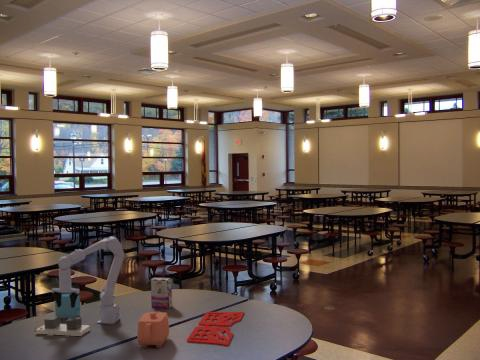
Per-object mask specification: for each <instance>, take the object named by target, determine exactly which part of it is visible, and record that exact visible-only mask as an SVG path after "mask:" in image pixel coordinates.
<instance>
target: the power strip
mask: <svg viewBox="0 0 480 360" xmlns="http://www.w3.org/2000/svg"><path fill="white" fill-rule="evenodd" d="M35 329H36V330H35ZM34 330H35V334H36V333H48V334H59V335H73V336H81V337H83V336H84V335H85V334H84V333H86V332H87V333H88V331H89V332H90V331H91V325H90V324H89V325H86V324H82V327H80V328H79V329H77V330H67V325H66V323H61V318H60V316H56V315H55V316H54V315H49V316H48V317H46V318H45V319H44V324H43V325H42V326H40V327H37V328H36V327H35V328H34ZM87 333H86V334H87ZM83 334H84V335H83ZM82 335H83V336H82Z"/></svg>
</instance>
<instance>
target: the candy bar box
mask: <svg viewBox="0 0 480 360" xmlns="http://www.w3.org/2000/svg"><path fill="white" fill-rule="evenodd" d="M172 282H173V281H172V277H152V278H151V279H150V295H151V296H150V297H151V298H150V299H151V301H150V302H151V308H155V309H168V310H169V309H171V308H172V307H173V286H172Z"/></svg>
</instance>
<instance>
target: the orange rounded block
mask: <svg viewBox="0 0 480 360" xmlns="http://www.w3.org/2000/svg"><path fill="white" fill-rule="evenodd" d="M169 322H170V321H169V317H168V313H167V312H162V311H150V312H145V313H144V314H142V316H140V318H139V320H138V323H137V335H136V338H137V340H136V341H137V343H138V345H140V346H141V348H147V347H148V346H155V347H156V348H162V347H163V345H164V343H166V341H167V339H168V337H169V336H170V323H169Z"/></svg>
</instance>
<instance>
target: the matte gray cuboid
mask: <svg viewBox="0 0 480 360" xmlns="http://www.w3.org/2000/svg"><path fill="white" fill-rule="evenodd" d="M65 321H66V322H65V324H66V325H67V330H77V329H79V328H80V327H82V325H83V323H82V317H80V316H77V317H71V318H67V319H66V320H65Z"/></svg>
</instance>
